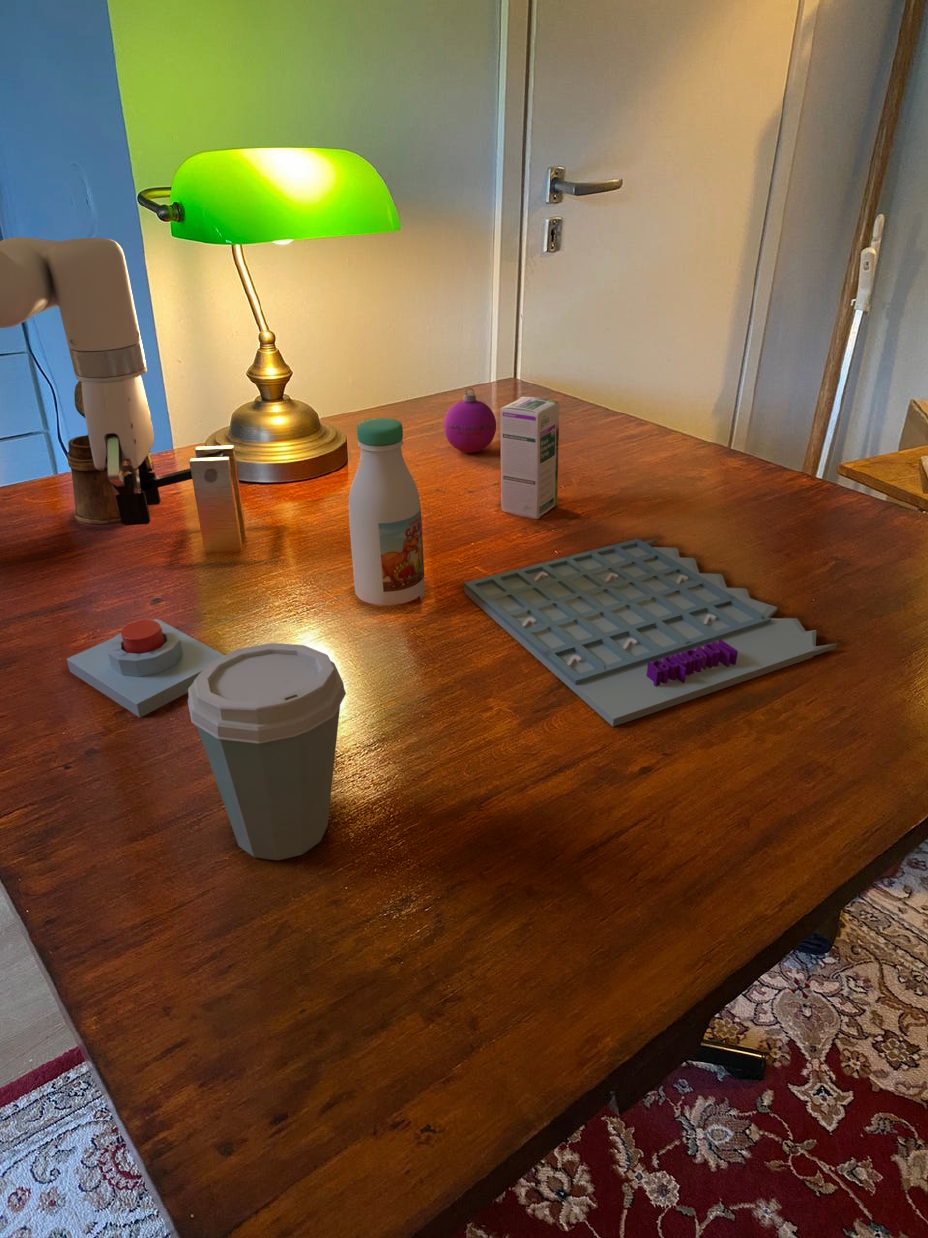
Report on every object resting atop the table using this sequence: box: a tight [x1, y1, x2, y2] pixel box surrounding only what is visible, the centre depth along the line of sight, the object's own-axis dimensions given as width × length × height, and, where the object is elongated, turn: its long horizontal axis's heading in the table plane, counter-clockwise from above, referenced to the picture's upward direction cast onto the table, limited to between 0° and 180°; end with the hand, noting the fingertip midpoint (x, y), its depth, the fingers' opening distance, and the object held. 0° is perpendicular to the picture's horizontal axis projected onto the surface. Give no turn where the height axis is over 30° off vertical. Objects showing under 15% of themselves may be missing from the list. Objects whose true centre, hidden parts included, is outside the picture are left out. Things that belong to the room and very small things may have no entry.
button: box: [120, 619, 164, 654], centre depth 86 cm, size 4×4×2 cm
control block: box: [66, 618, 225, 718], centre depth 87 cm, size 12×10×4 cm
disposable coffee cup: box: [187, 642, 347, 861], centre depth 65 cm, size 11×11×15 cm
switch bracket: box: [188, 445, 247, 554], centre depth 109 cm, size 12×10×13 cm
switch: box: [131, 453, 225, 491], centre depth 107 cm, size 12×5×2 cm, turn 95°
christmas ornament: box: [443, 387, 497, 454], centre depth 141 cm, size 8×8×10 cm
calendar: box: [463, 537, 838, 727], centre depth 96 cm, size 27×29×2 cm
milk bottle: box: [348, 417, 425, 606], centre depth 96 cm, size 8×8×20 cm
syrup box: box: [499, 395, 560, 520], centre depth 119 cm, size 6×6×14 cm
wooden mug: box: [66, 380, 130, 526], centre depth 119 cm, size 9×14×18 cm, turn 6°
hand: (141, 512), depth 108 cm, fingers closed on switch, 5 cm apart
